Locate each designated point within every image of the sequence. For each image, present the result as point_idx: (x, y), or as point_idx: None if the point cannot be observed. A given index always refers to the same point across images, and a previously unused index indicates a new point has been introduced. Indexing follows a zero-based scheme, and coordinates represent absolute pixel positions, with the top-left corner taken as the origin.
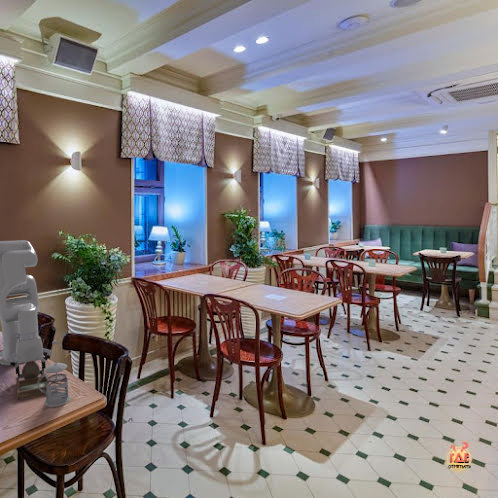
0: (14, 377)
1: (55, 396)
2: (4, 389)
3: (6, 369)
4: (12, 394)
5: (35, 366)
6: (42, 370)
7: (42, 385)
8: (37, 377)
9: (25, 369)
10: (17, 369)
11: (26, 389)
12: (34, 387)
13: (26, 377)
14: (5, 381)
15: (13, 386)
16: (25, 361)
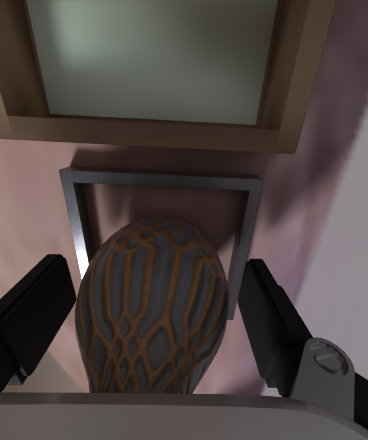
0: None
1: None
2: (341, 178)
3: (255, 391)
4: (335, 19)
5: (93, 299)
6: (60, 258)
7: (67, 17)
8: (98, 132)
9: (205, 290)
10: (293, 312)
11: (219, 8)
12: (143, 13)
13: (196, 229)
14: (296, 288)
15: (280, 194)
16: (224, 432)
